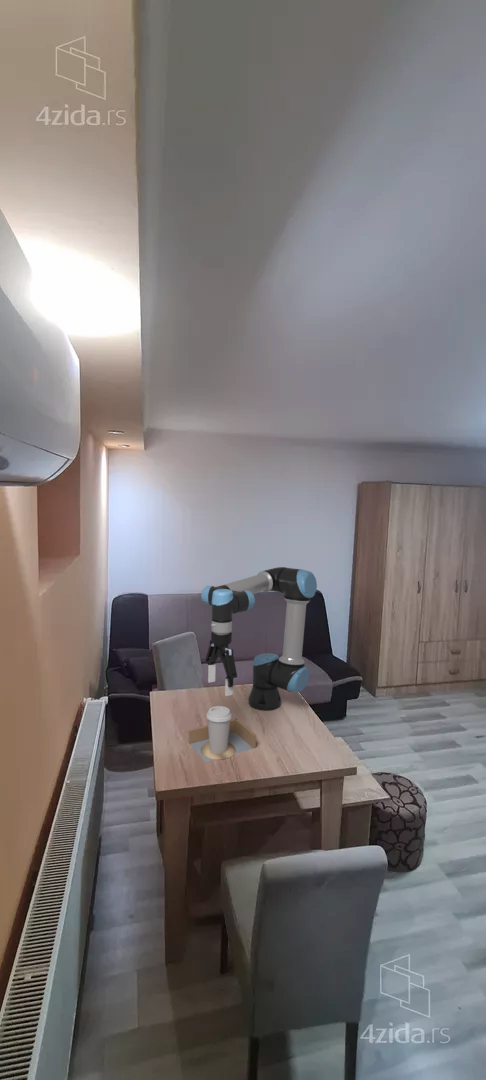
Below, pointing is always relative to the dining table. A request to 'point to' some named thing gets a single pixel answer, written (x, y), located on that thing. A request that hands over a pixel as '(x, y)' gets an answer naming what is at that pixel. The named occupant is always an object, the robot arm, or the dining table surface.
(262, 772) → the dining table surface
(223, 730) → the coffee cup
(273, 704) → the robot arm
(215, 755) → the pad
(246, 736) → the tray
